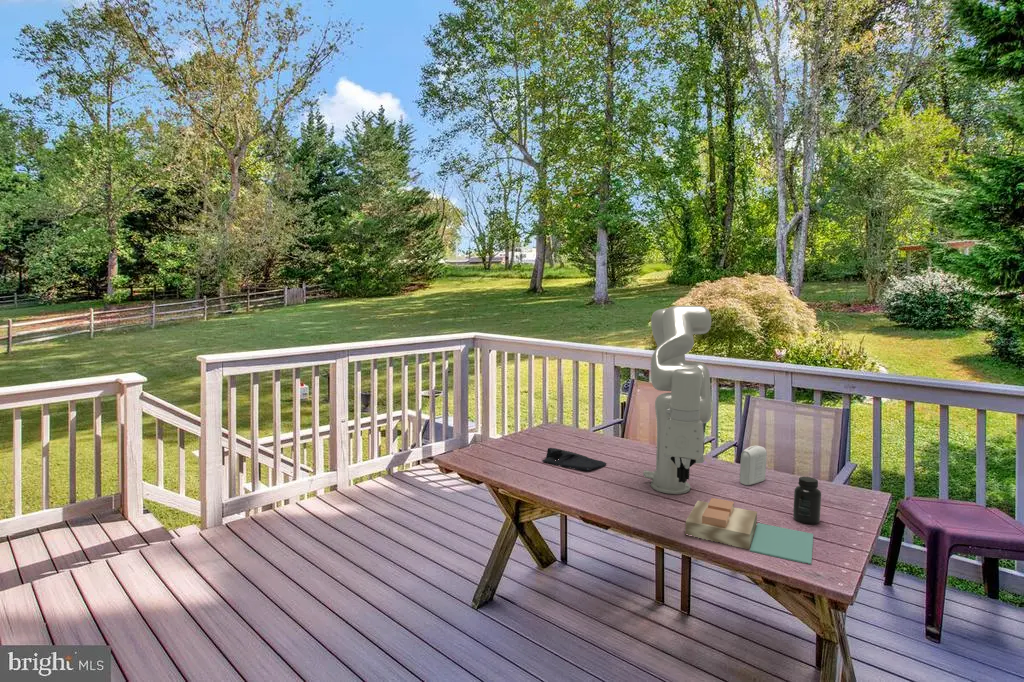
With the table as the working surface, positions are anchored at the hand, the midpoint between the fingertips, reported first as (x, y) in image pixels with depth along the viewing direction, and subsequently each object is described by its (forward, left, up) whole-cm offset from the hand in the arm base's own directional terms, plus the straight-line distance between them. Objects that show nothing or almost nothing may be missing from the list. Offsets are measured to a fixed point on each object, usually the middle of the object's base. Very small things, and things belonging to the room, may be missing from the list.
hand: (682, 481), depth 153 cm
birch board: (+10, +5, -14) cm, 17 cm away
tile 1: (+9, +9, -9) cm, 15 cm away
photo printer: (+13, +49, -14) cm, 52 cm away
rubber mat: (+25, +5, -14) cm, 29 cm away
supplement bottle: (+30, +24, -14) cm, 40 cm away
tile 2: (+9, +1, -9) cm, 12 cm away
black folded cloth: (-48, +37, -14) cm, 62 cm away
